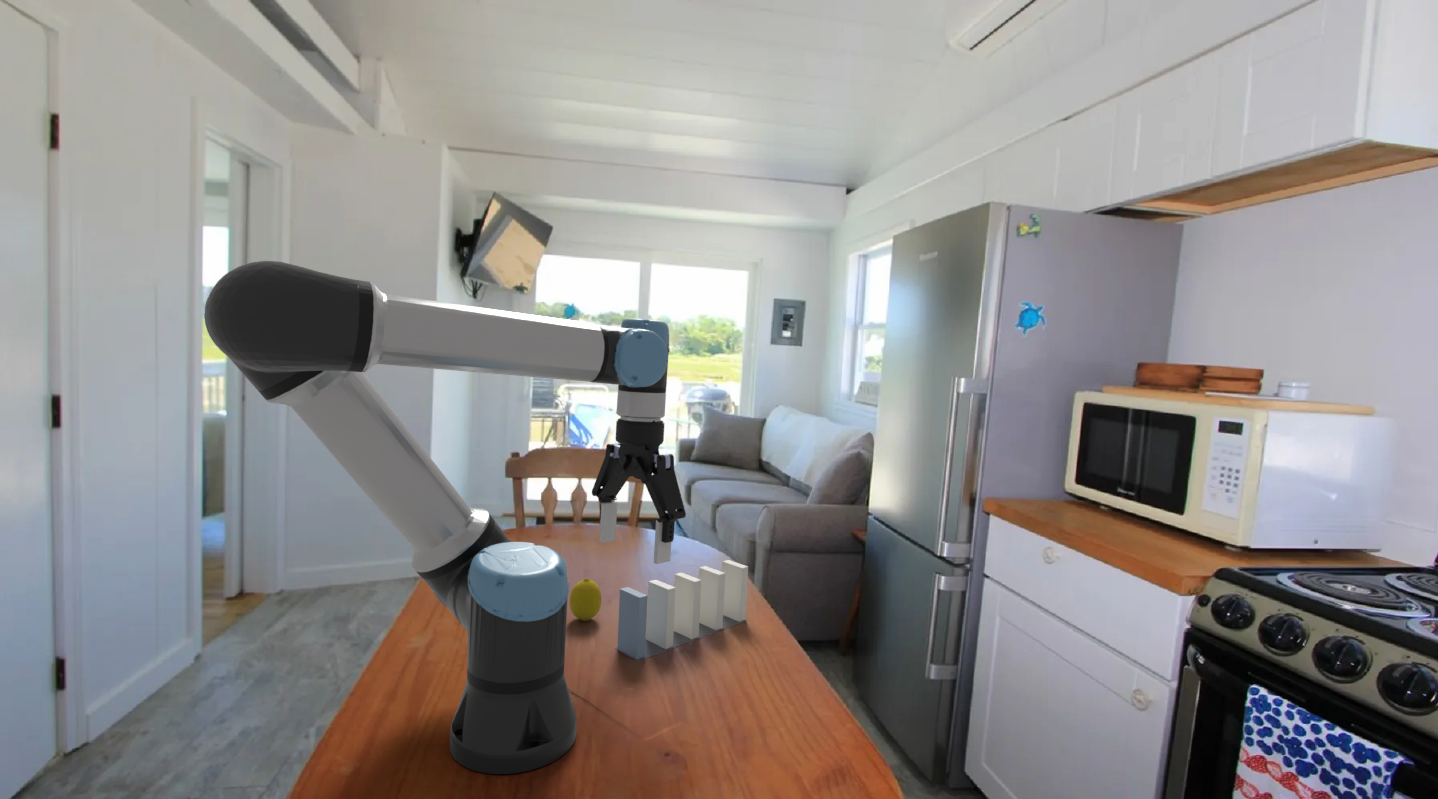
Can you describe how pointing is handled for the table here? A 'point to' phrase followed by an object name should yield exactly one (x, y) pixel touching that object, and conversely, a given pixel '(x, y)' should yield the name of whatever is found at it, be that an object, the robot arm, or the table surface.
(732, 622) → the strip
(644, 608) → the blue-grey tile
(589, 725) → the table surface
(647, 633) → the tile
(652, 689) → the table surface
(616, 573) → the table surface
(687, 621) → the tile
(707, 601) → the tile
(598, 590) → the lemon
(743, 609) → the tile
